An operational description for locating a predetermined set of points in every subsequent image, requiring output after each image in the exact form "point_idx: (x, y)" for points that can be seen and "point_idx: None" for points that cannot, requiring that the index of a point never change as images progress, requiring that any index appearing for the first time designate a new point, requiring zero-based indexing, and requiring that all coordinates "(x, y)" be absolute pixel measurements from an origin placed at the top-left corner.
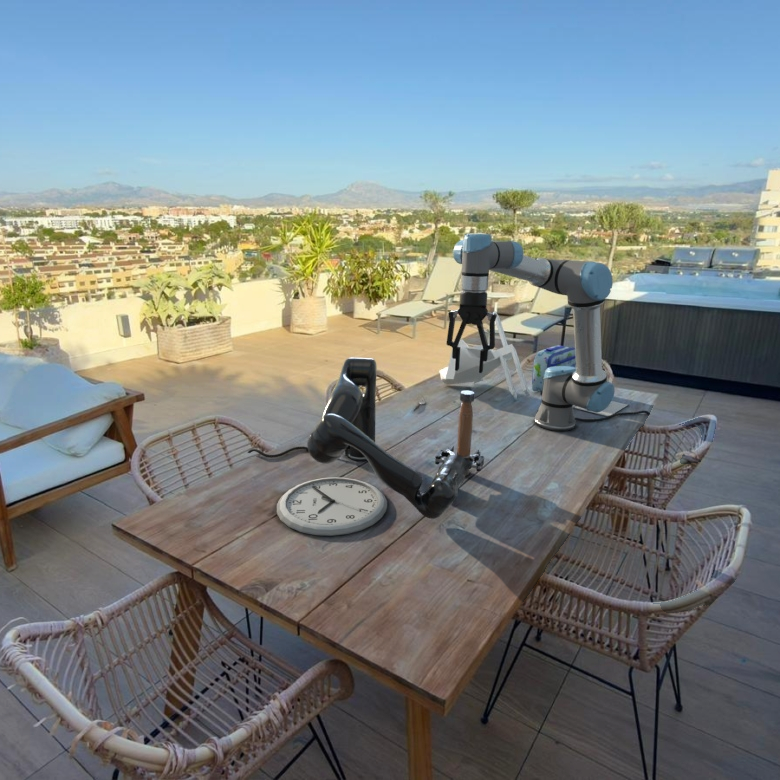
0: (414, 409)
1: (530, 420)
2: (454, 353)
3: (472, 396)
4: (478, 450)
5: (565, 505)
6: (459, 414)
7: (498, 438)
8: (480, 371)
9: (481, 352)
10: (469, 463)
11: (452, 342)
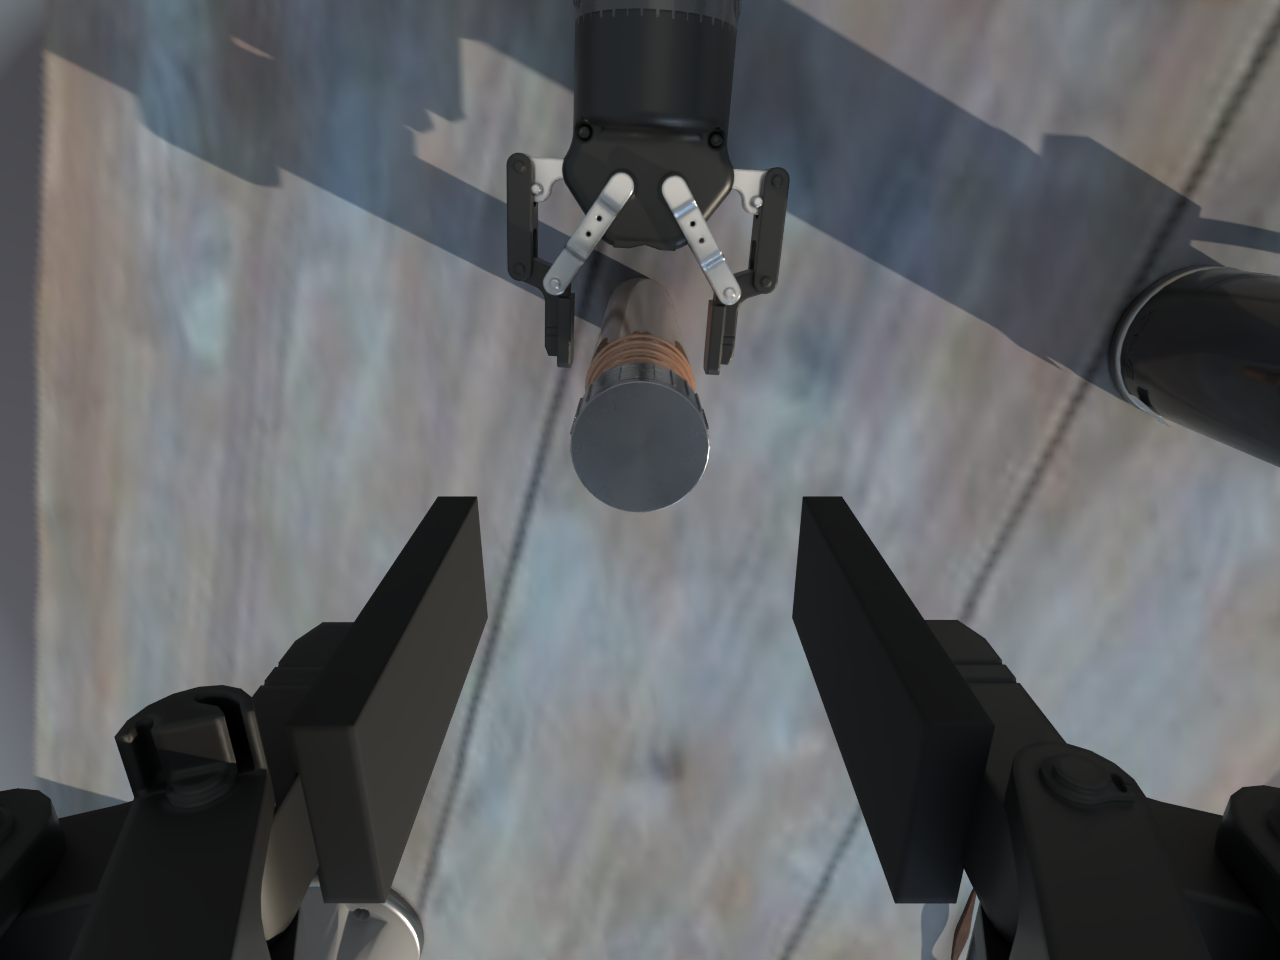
0: (973, 901)
1: (443, 938)
2: (972, 684)
3: (581, 407)
4: (557, 354)
5: (103, 126)
6: (689, 364)
7: (542, 730)
8: (449, 504)
9: (341, 701)
10: (573, 150)
11: (1197, 916)
